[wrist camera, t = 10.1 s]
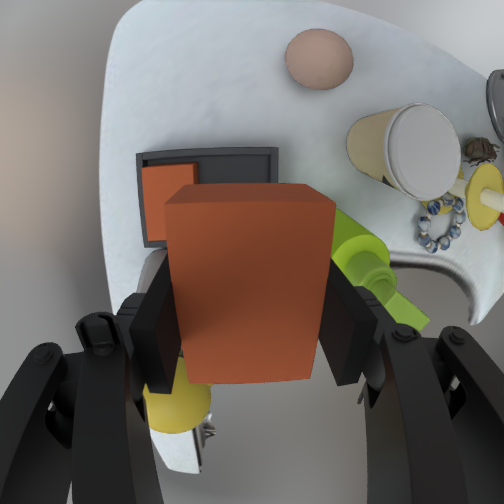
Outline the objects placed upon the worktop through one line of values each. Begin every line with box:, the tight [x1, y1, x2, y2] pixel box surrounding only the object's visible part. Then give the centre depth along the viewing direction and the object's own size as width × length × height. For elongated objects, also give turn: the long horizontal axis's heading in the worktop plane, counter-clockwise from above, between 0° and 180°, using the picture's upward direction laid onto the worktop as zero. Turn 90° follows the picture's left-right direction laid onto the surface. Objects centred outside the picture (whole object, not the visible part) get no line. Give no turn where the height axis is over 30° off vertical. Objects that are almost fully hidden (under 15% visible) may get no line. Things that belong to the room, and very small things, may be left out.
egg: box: [285, 29, 354, 90], centre depth 23 cm, size 7×7×8 cm
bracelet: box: [418, 193, 466, 253], centre depth 34 cm, size 10×10×2 cm
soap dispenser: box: [331, 208, 430, 332], centre depth 25 cm, size 6×7×20 cm
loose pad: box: [164, 183, 336, 384], centre depth 12 cm, size 6×8×4 cm
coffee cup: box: [346, 103, 461, 201], centre depth 25 cm, size 9×9×12 cm
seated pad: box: [142, 162, 199, 241], centre depth 30 cm, size 6×8×4 cm
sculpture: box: [143, 356, 213, 434], centre depth 37 cm, size 15×13×13 cm
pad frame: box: [136, 147, 278, 248], centre depth 31 cm, size 16×11×3 cm
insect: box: [463, 137, 500, 167], centre depth 29 cm, size 5×9×3 cm
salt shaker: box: [136, 249, 168, 293], centre depth 29 cm, size 6×6×13 cm
